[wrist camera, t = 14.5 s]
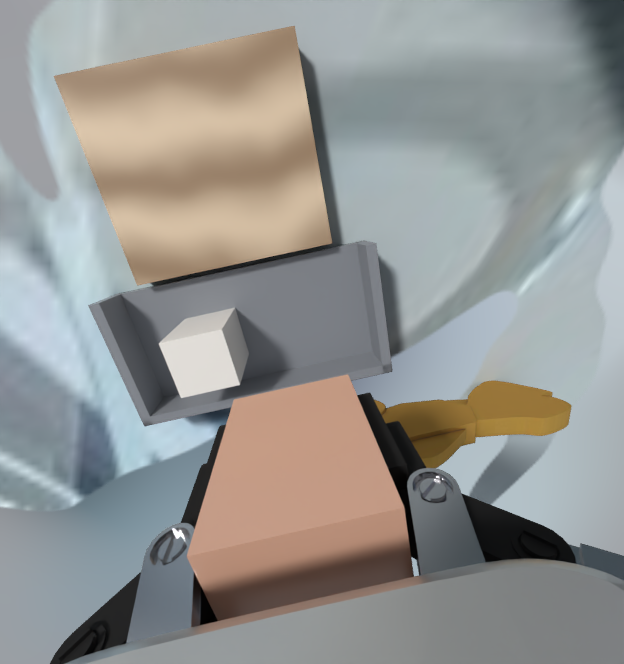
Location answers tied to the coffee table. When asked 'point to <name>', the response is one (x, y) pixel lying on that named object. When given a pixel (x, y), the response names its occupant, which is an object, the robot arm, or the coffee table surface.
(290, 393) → the terracotta block
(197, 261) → the board
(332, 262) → the box
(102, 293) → the coffee table surface
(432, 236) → the coffee table surface
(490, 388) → the decorative fish
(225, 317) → the cream block
